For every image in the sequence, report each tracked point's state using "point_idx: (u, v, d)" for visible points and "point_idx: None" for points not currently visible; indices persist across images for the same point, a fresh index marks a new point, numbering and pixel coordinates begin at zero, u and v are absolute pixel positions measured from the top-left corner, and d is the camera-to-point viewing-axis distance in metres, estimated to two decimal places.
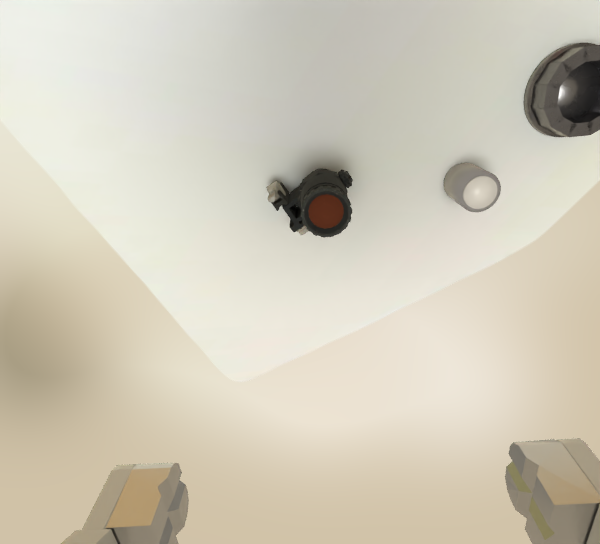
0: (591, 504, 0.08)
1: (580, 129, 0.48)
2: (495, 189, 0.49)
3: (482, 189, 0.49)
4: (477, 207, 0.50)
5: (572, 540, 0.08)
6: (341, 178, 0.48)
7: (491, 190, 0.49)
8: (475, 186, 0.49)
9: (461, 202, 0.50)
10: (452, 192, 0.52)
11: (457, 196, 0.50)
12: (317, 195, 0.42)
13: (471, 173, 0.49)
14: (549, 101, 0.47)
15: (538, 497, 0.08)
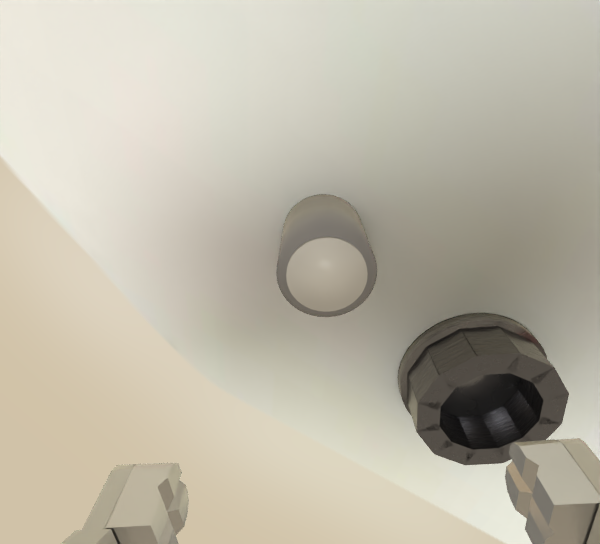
0: (591, 504, 0.08)
1: (428, 416, 0.27)
2: (334, 306, 0.21)
3: (335, 279, 0.20)
4: (289, 275, 0.20)
5: (572, 540, 0.08)
6: None
7: (331, 299, 0.20)
8: (343, 262, 0.20)
9: (300, 236, 0.19)
10: (313, 213, 0.21)
11: (313, 224, 0.20)
12: None
13: (370, 247, 0.20)
14: (488, 362, 0.25)
15: (537, 496, 0.08)
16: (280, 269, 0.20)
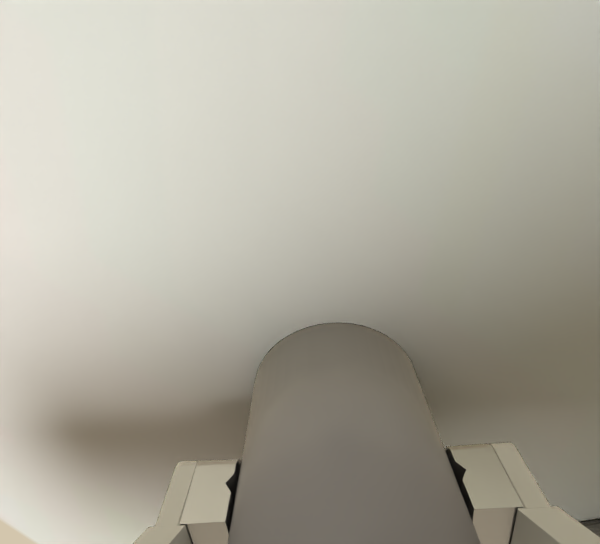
0: (511, 508, 0.08)
1: None
2: None
3: None
4: None
5: None
6: None
7: None
8: None
9: None
10: (319, 420, 0.08)
11: (322, 511, 0.06)
12: None
13: None
14: None
15: None
16: None
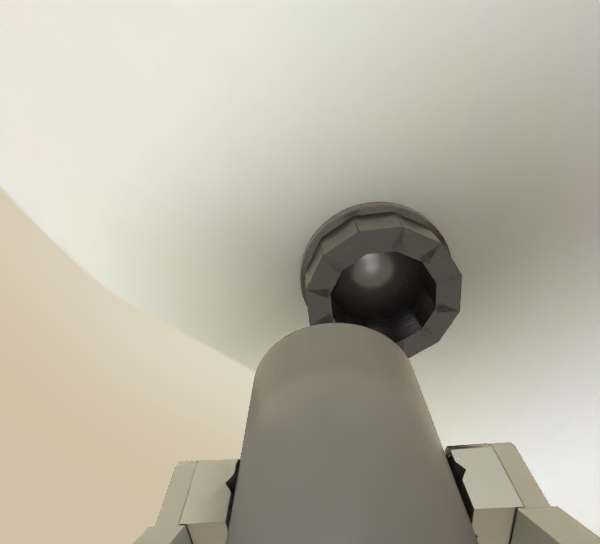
0: (511, 508, 0.08)
1: (319, 306, 0.25)
2: None
3: None
4: None
5: None
6: None
7: None
8: None
9: None
10: (318, 420, 0.08)
11: (320, 511, 0.06)
12: None
13: None
14: (371, 238, 0.23)
15: (463, 501, 0.08)
16: None
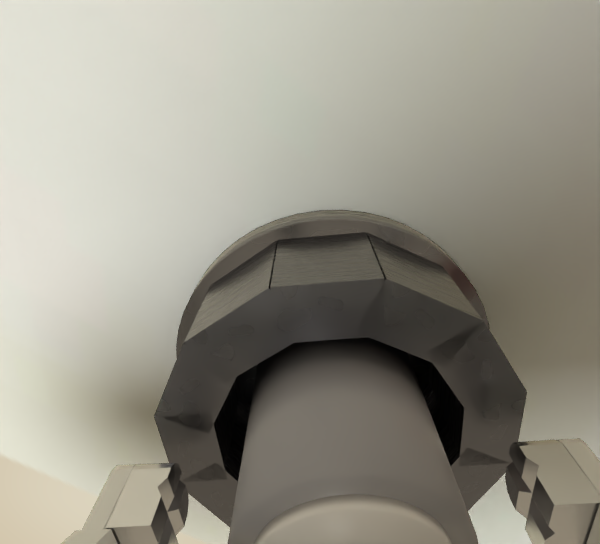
0: (591, 504, 0.08)
1: (191, 448, 0.11)
2: None
3: None
4: None
5: (572, 540, 0.08)
6: None
7: None
8: None
9: (285, 494, 0.07)
10: (318, 384, 0.09)
11: (320, 454, 0.08)
12: None
13: (461, 496, 0.08)
14: (304, 306, 0.09)
15: (537, 496, 0.08)
16: None
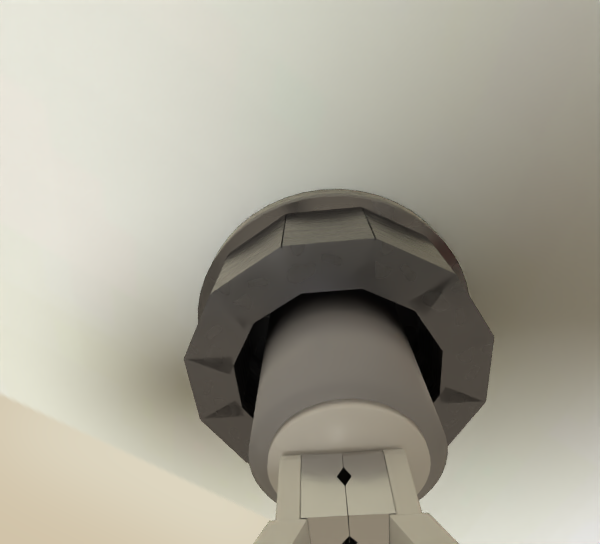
0: (385, 514, 0.08)
1: (214, 387, 0.13)
2: None
3: None
4: (274, 468, 0.10)
5: None
6: None
7: None
8: (382, 448, 0.10)
9: (296, 398, 0.09)
10: (320, 326, 0.11)
11: (322, 370, 0.10)
12: None
13: (434, 408, 0.10)
14: (309, 262, 0.11)
15: (347, 506, 0.09)
16: (256, 451, 0.10)
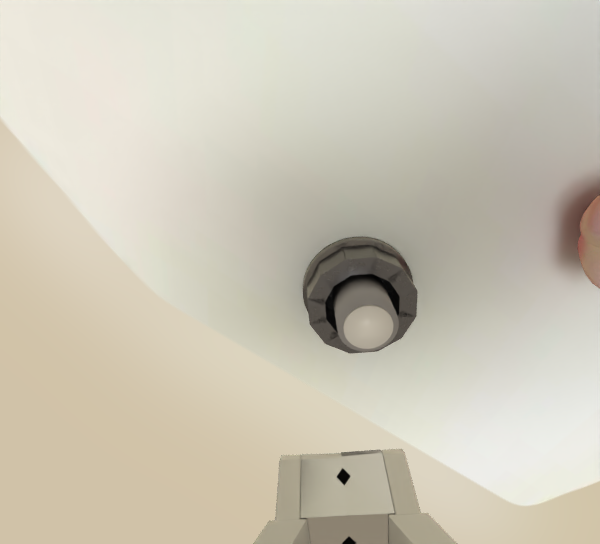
0: (384, 515, 0.08)
1: (317, 311, 0.36)
2: (371, 345, 0.33)
3: (373, 329, 0.33)
4: (346, 327, 0.32)
5: None
6: None
7: (370, 341, 0.33)
8: (379, 320, 0.32)
9: (353, 304, 0.32)
10: (358, 286, 0.34)
11: (361, 297, 0.32)
12: None
13: (394, 310, 0.33)
14: (354, 264, 0.34)
15: None
16: (339, 323, 0.33)
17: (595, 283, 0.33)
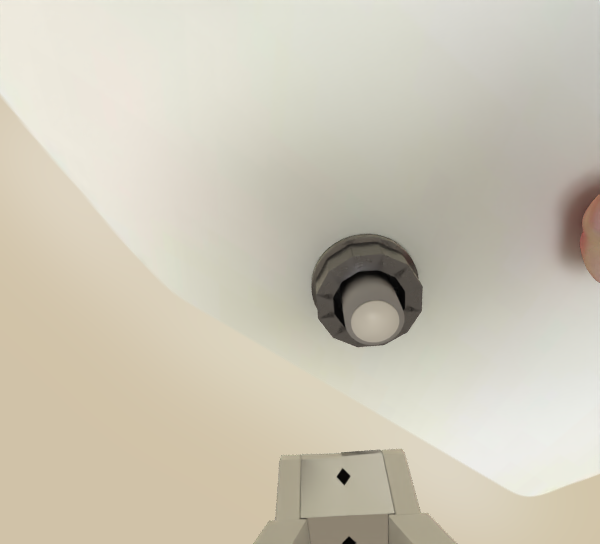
0: (384, 514, 0.08)
1: (325, 306, 0.37)
2: (378, 339, 0.34)
3: (380, 324, 0.34)
4: (353, 322, 0.34)
5: None
6: None
7: (377, 335, 0.34)
8: (385, 314, 0.33)
9: (360, 300, 0.33)
10: (365, 282, 0.35)
11: (368, 292, 0.33)
12: None
13: (400, 305, 0.34)
14: (361, 261, 0.35)
15: None
16: (347, 318, 0.34)
17: (597, 278, 0.33)
